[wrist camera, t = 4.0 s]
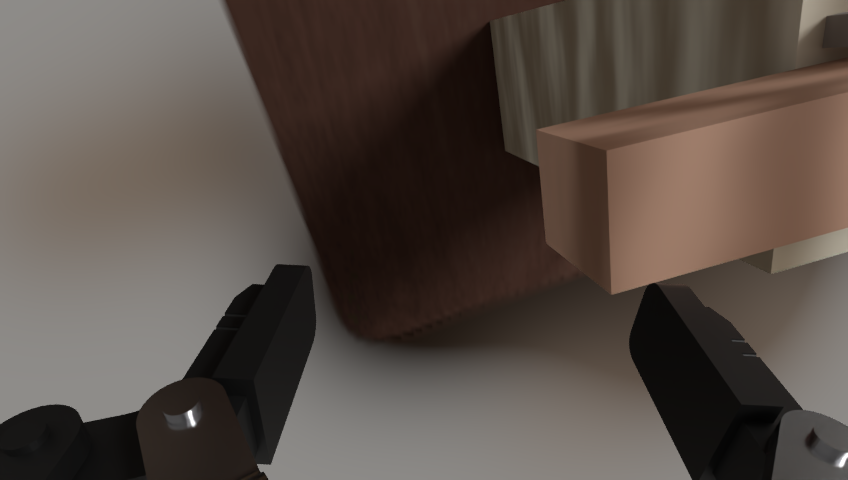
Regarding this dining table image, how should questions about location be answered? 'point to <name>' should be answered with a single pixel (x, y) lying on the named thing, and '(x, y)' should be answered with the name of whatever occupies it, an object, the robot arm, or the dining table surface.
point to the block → (698, 177)
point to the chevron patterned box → (656, 66)
